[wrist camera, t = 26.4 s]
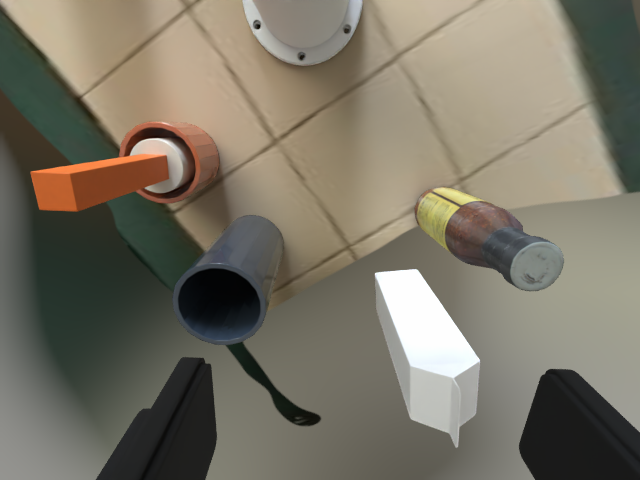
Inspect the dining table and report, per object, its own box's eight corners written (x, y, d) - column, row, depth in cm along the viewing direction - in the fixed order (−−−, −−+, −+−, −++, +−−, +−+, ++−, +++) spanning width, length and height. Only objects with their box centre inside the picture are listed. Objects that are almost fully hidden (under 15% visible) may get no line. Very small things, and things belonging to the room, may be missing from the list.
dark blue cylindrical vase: (221, 213, 43) (167, 261, 28) (284, 216, 43) (265, 265, 28) (224, 271, 45) (177, 343, 30) (283, 273, 46) (266, 346, 30)
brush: (157, 135, 39) (-3, 144, 19) (203, 137, 39) (90, 148, 20) (163, 181, 41) (21, 231, 21) (207, 183, 41) (105, 235, 21)
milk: (417, 268, 46) (503, 387, 25) (417, 306, 47) (496, 447, 27) (373, 272, 46) (421, 394, 25) (374, 310, 48) (420, 453, 27)
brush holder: (148, 121, 39) (113, 120, 32) (217, 124, 39) (196, 123, 33) (156, 189, 42) (125, 201, 35) (221, 192, 42) (203, 204, 35)
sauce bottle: (424, 239, 44) (503, 324, 25) (404, 200, 42) (473, 259, 24) (470, 215, 43) (588, 285, 24) (451, 174, 41) (563, 213, 22)
